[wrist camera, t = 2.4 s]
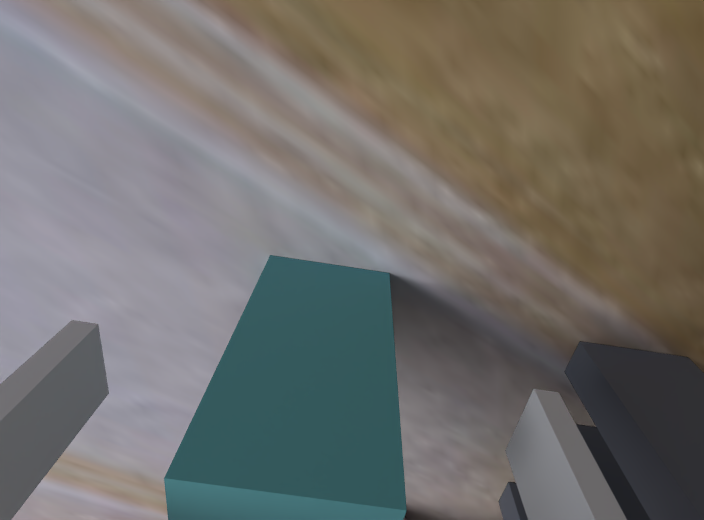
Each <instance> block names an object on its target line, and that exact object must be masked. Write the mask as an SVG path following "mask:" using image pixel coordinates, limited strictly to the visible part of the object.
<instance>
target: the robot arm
mask: <svg viewBox="0 0 704 520" xmlns="http://www.w3.org/2000/svg"><path fill="white" fill-rule="evenodd" d="M108 394H109V391H108V384H107V378H106V371H105V365H104V359H103V352H102V346H101V339H100V333H99V326H98V324H94V323H88V322H81V321H74V320H72V321H71V322H69V323H68V324H67V325H66V326H65V327H64V328H63V329H62V330H61V331H59V332H58V333H57V334H56V335H55V336H54V337H53V338H52V339H51V340H49V341H48V342H47V343H46V344H45V345H44V346H43V347H42V348H40V349H39V350H38V351H37V352H36V353H35V354H34V355H33V356H32V357H30V358H29V359H28V360H27V361H26V362H25V363H24V364H23V365H21V366H20V367H19V368H18V369H17V370H16V371H15V372H14V373H13V374H11V375H10V376H9V377H8V378H7V379H6V380H5V381H4V382H3V383H1V384H0V520H11V519H12V518H13V517H14V515H15V514H16V513H17V511H18V510H19V509H20V508H21V506H22V505H23V504H24V502H25V501H26V500H27V498H28V497H29V496H30V495H31V493H32V492H33V491H34V489H35V488H36V487H37V486H38V484H39V483H40V482H41V480H42V479H43V478H44V476H45V475H46V474H47V473H48V471H49V470H50V469H51V467H52V466H53V465H54V464H55V462H56V461H57V460H58V458H59V457H60V456H61V454H62V453H63V452H64V451H65V449H66V448H67V447H68V445H69V444H70V443H71V442H72V440H73V439H74V438H75V436H76V435H77V434H78V432H79V431H80V430H81V429H82V427H83V426H84V425H85V423H86V422H87V421H88V420H89V418H90V417H91V416H92V414H93V413H94V412H95V410H96V409H97V408H98V407H99V405H100V404H101V403H102V401H103V400H104V399H105V398H106V396H107V395H108ZM505 451H506V454H507V457H508V460H509V463H510V466H511V469H512V472H513V475H514V478H515V481H516V484H517V487H518V490H519V493H520V497H521V500H522V503H523V506H524V509H525V512H526V515H527V518H528V520H627V519H626V517H625V515H624V513H623V511H622V510H621V508H620V506H619V504H618V502H617V500H616V498H615V496H614V495H613V493H612V491H611V489H610V487H609V485H608V483H607V482H606V480H605V478H604V476H603V474H602V472H601V470H600V469H599V467H598V465H597V463H596V461H595V459H594V457H593V455H592V454H591V452H590V450H589V448H588V446H587V444H586V442H585V441H584V439H583V437H582V435H581V433H580V431H579V429H578V428H577V426H576V424H575V422H574V420H573V418H572V416H571V414H570V413H569V411H568V409H567V407H566V405H565V403H564V401H563V400H562V398H561V396H560V394H559V392H554V391H547V390H540V389H533V391H532V394H531V396H530V398H529V400H528V402H527V404H526V407H525V409H524V411H523V413H522V415H521V417H520V420H519V422H518V424H517V426H516V428H515V431H514V433H513V435H512V437H511V439H510V441H509V444H508V446H507V448H506V450H505Z"/></svg>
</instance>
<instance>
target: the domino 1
mask: <svg viewBox="0 0 704 520" xmlns="http://www.w3.org/2000/svg"><path fill="white" fill-rule="evenodd" d="M164 481H165V491H166V501H167V511H168V520H403V519H404V517H405V514H406V511H407V510H406V496H405V482H404V468H403V455H402V441H401V427H400V413H399V399H398V385H397V372H396V358H395V344H394V330H393V316H392V302H391V289H390V275H389V273H385V272H379V271H372V270H365V269H359V268H352V267H345V266H339V265H332V264H325V263H319V262H312V261H305V260H299V259H292V258H285V257H279V256H272V255H270V257H269V259H268V261H267V263H266V266H265V268H264V270H263V272H262V274H261V276H260V278H259V280H258V282H257V284H256V287H255V289H254V291H253V293H252V295H251V297H250V299H249V301H248V303H247V305H246V308H245V310H244V312H243V314H242V316H241V318H240V320H239V322H238V324H237V326H236V329H235V331H234V333H233V335H232V337H231V339H230V341H229V343H228V345H227V347H226V350H225V352H224V354H223V356H222V358H221V360H220V362H219V364H218V366H217V368H216V371H215V373H214V375H213V377H212V379H211V381H210V383H209V385H208V387H207V389H206V392H205V394H204V396H203V398H202V400H201V402H200V404H199V406H198V408H197V410H196V413H195V415H194V417H193V419H192V421H191V423H190V425H189V427H188V429H187V432H186V434H185V436H184V438H183V440H182V442H181V444H180V446H179V448H178V450H177V453H176V455H175V457H174V459H173V461H172V463H171V465H170V467H169V469H168V471H167V474H166V476H165V478H164Z"/></svg>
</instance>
